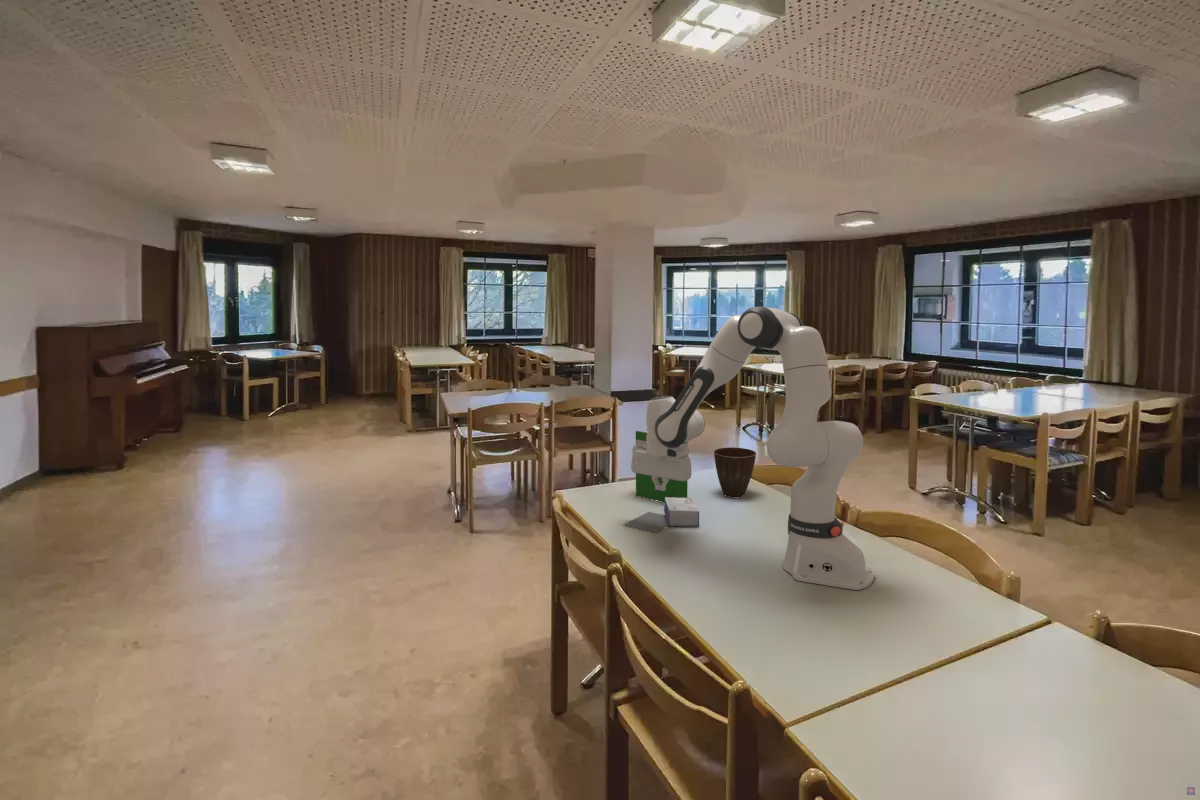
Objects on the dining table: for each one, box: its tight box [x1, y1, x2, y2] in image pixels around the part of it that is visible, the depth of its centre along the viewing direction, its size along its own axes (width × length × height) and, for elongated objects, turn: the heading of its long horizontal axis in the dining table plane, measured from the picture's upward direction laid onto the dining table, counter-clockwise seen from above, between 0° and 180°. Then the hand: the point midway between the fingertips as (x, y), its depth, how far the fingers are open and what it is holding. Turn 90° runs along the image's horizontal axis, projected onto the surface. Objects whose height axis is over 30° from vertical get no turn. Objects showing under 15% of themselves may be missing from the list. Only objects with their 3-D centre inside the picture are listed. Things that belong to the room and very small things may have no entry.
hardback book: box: [635, 429, 689, 503], centre depth 229 cm, size 18×7×24 cm, turn 46°
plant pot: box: [713, 446, 757, 498], centre depth 232 cm, size 15×15×16 cm
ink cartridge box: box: [663, 497, 700, 527], centre depth 207 cm, size 10×6×14 cm
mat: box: [623, 511, 669, 534], centre depth 205 cm, size 12×15×1 cm
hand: (660, 490), depth 202 cm, fingers closed
